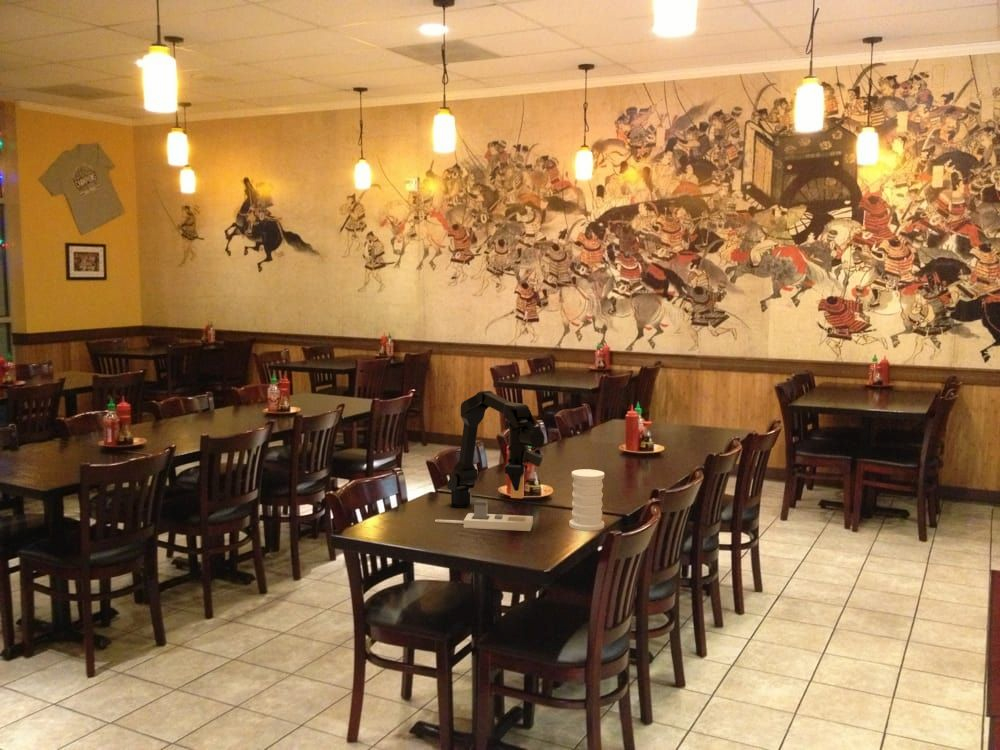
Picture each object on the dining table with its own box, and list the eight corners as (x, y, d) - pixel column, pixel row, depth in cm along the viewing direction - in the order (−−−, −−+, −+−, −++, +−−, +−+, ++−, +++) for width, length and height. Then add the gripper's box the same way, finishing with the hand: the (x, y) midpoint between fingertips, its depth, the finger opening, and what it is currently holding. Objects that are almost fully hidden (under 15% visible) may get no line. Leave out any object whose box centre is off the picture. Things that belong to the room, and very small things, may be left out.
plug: (510, 497, 290) (510, 473, 289) (511, 495, 293) (512, 471, 292) (522, 498, 289) (523, 474, 288) (523, 496, 292) (524, 472, 291)
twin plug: (474, 525, 292) (474, 502, 291) (475, 523, 295) (475, 499, 294) (486, 526, 292) (486, 502, 291) (487, 523, 295) (487, 500, 294)
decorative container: (568, 529, 289) (569, 475, 287) (570, 520, 300) (571, 468, 298) (603, 531, 287) (605, 477, 285) (604, 521, 299) (606, 469, 297)
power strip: (432, 526, 291) (432, 516, 291) (437, 518, 300) (437, 509, 300) (530, 531, 287) (530, 521, 287) (532, 523, 296) (533, 513, 295)
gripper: (539, 449, 279) (538, 497, 280) (544, 438, 297) (543, 483, 299) (504, 448, 280) (504, 496, 282) (511, 437, 299) (511, 482, 300)
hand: (517, 489), depth 291 cm, fingers closed on plug, 3 cm apart
